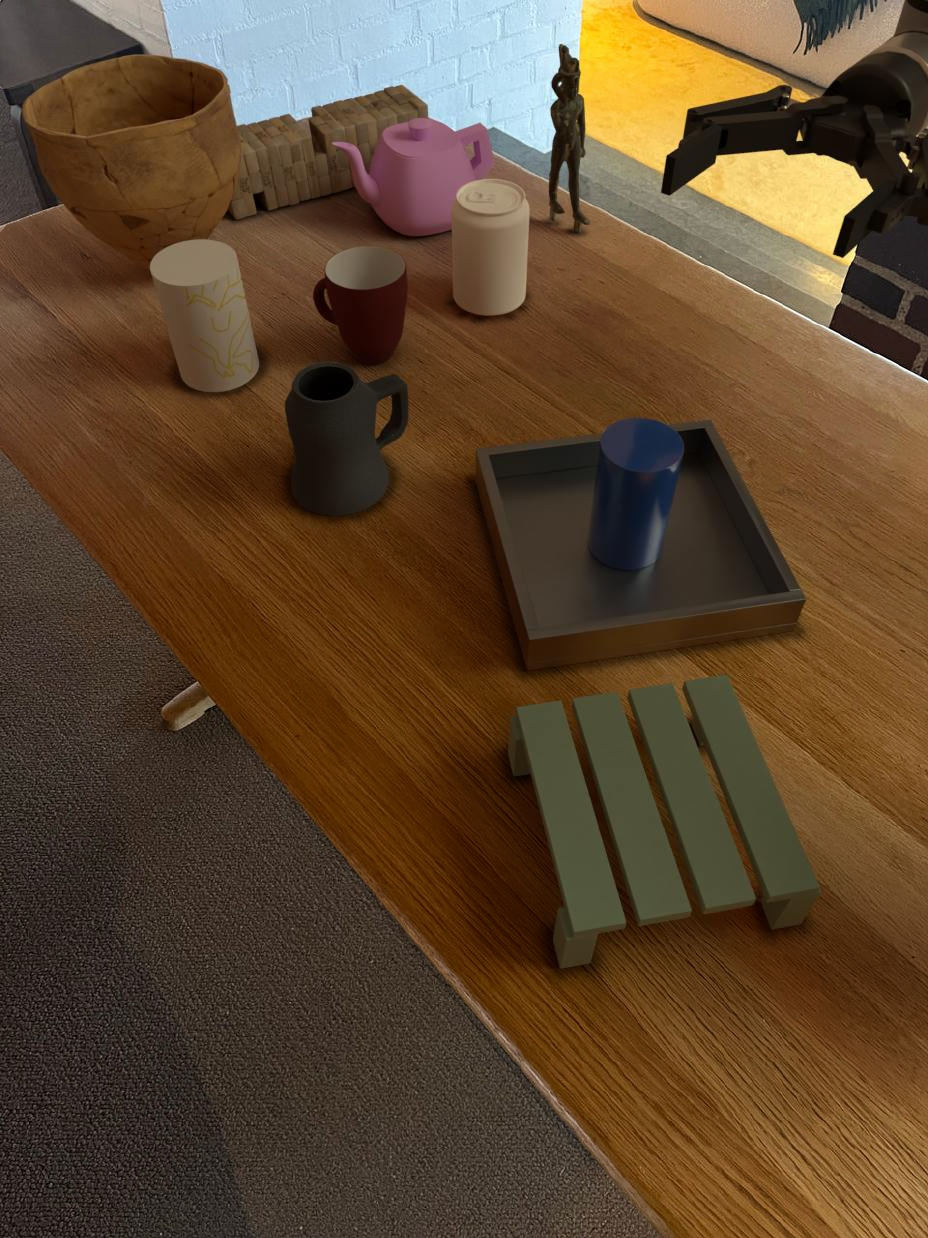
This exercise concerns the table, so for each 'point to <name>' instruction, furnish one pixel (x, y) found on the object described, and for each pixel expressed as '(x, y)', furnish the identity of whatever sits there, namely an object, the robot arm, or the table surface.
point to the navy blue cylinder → (633, 492)
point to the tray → (630, 599)
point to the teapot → (419, 173)
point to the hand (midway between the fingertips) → (751, 205)
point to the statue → (567, 135)
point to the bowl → (139, 149)
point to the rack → (635, 818)
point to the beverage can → (490, 246)
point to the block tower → (315, 149)
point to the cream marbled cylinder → (206, 314)
